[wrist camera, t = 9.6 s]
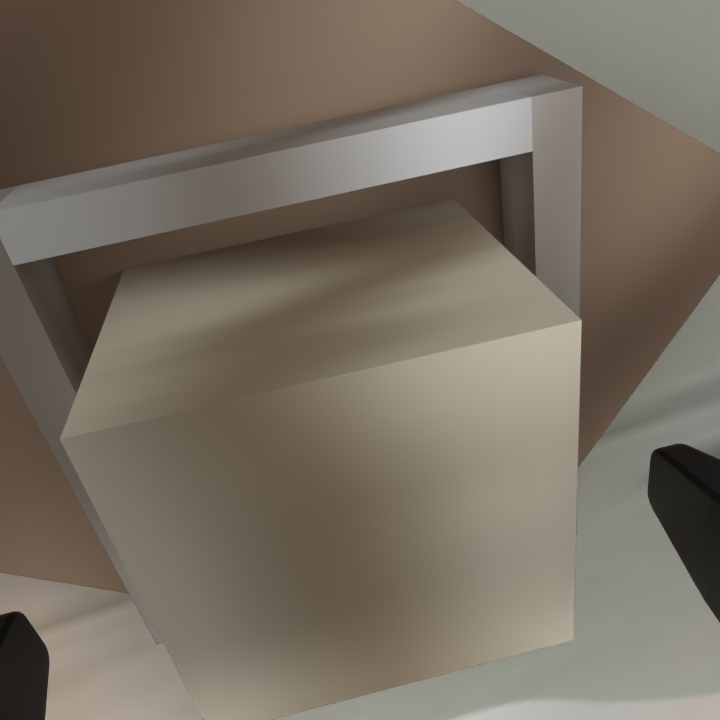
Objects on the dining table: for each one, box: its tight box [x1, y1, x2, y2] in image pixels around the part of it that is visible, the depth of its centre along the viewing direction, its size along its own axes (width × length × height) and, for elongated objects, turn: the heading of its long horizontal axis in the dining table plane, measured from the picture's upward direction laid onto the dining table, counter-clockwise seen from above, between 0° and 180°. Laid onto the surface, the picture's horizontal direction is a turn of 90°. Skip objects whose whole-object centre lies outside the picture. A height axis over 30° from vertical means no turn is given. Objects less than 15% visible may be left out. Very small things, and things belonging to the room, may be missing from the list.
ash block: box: [60, 199, 582, 720], centre depth 11 cm, size 6×6×5 cm
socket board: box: [0, 0, 720, 644], centre depth 13 cm, size 14×14×2 cm
